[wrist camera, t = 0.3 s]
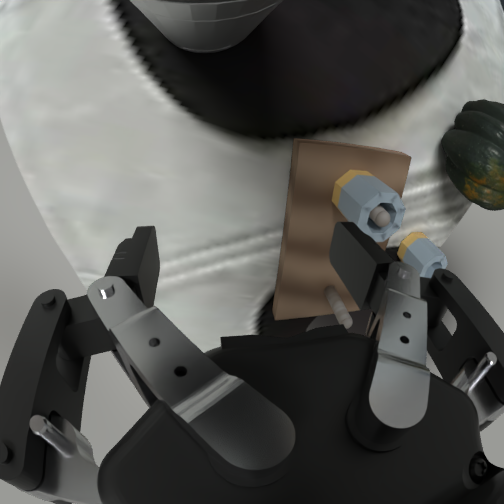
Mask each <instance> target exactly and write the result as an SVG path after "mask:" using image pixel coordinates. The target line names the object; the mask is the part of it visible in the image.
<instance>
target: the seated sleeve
mask: <svg viewBox="0 0 504 504" xmlns="http://www.w3.org/2000/svg"><path fill="white" fill-rule="evenodd" d="M332 202H333V203H334V204H335V206H336V207H337V208H338V210H339V211H340V212H341V214H342V215H343V216H344V217H345V218H346V219H347V221H348V222H354V223H355V224H356V225H357V226H358V227H359V228H360V229H361V230H362V231H363V232H364V233H365V234H367V235H369V236H370V237H372V238H373V239H374V240H375V241H376V242H384V241H385V240H386V239H388V238H389V237H390V236H391V235H392V234H394V233H395V232H396V231H397V230H398V229H400V225H401V222H402V219H403V216H404V213H405V207H404V205H403V203H402V201H401V199H400V197H399V195H398V193H397V192H395V191H394V190H393V189H391V188H390V187H389V186H387V185H386V184H385V183H383V182H382V181H380V180H379V179H378V178H376V177H375V176H373V175H372V174H371V173H369V172H368V171H360V170H349V171H348V172H347V173H345V174H344V175H343V176H342V177H341V178H339V179H338V180H337V181H336V182H335V186H334V191H333V196H332ZM377 205H380V206H381V207H383V208H384V209H385V210H386V211H387V212H388V213H389V215H390V222H389V224H388V225H387V226H385V227H380V226H378V225H377V224H376V223H375V222H374V221H373V220H372V219H371V218H370V217H369V214H370V211H371V210H373V209H374V208H375V207H376V206H377Z"/></svg>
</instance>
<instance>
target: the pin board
mask: <svg viewBox="0 0 504 504" xmlns="http://www.w3.org/2000/svg"><path fill="white" fill-rule="evenodd" d="M410 161H411V157H410V156H408V155H406V154H404V153H402V152H398V151H393V150H387V149H381V148H375V147H369V146H362V145H355V144H347V143H339V142H330V141H320V140H309V139H296V138H294V141H293V151H292V160H291V170H290V179H289V187H288V196H287V204H286V213H285V221H284V229H283V236H282V244H281V252H280V259H279V267H278V274H277V281H276V288H275V295H274V302H273V309H272V311H273V314H274V318H275V320H283V319H293V318H302V317H311V316H320V315H327V314H335V316H336V318H337V320H338V322H339V324H344V326H345V328H346V329H348V328H350V327H351V325H352V319H351V317H350V315H349V313H348V312H350V311H357V310H360V309H359V307H358V306H357V304H356V302H355V301H354V299H353V298H352V296H351V294H350V293H349V291H348V290H347V288H346V286H345V285H344V283H343V282H342V280H341V279H340V277H339V276H338V274H337V272H336V271H335V269H334V268H333V266H332V265H331V263H330V259H329V251H330V246H331V241H332V236H333V232H334V227H335V224H336V223H337V222H348V221H347V219H346V218H345V217H344V216H343V215H342V214H341V212H340V211H339V210H338V208H337V207H336V206H335V204H334V203H333V202H332V196H333V191H334V186H335V182H336V181H337V180H338V179H339V178H341V177H342V176H343V175H344V174H345V173H347V172H348V171H349V170H360V171H368V172H369V173H371V174H372V175H373V176H375V177H376V178H378V179H379V180H380V181H382V182H383V183H385V184H386V185H387V186H389V187H390V188H391V189H393V190H394V191H395V192H397V193H398V195H399V197H400V199H401V197H402V194H403V190H404V186H405V182H406V178H407V174H408V170H409V166H410ZM369 217H370V218H371V219H372V220H373V221H374V222H375V223H376V224H377V225H378V226H380V227H385V226H387V225H388V224H389V222H390V215H389V213H388V212H387V211H386V210H385V209H384V208H383V207H381V206H380V205H377V206H376V207H375V208H374V209H373V210H371V211H370V214H369ZM388 240H389V238H388V239H386V240H385V241H384V242H377V244H378V245H379V246H380V247H381V248H382V249H383V250H384V251H385V249H386V246H387V243H388Z"/></svg>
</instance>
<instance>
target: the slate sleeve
mask: <svg viewBox="0 0 504 504" xmlns="http://www.w3.org/2000/svg"><path fill="white" fill-rule="evenodd" d="M397 255H398V256H399V258H400V260H401V262H403V263H407V264H409V265H411V266H412V267H414V268H415V269H416V270H417V271H418V272H419V274H420V277H426V278H431V277H432V275H433V272H434V270H435V269H438V268H442V269H445V268H446V265H447V264H448V263H447V260H446V257H445V255H444V253H442V251H441V250H440V249H439V248H438V247H436V246H435V245H434V244H433V243H432V242H431V241H430V240H429V239H428V238H427V237H426V236H425V235H424V234H423V233H422V232H412V233H411V234H410V235H408V236H407V237H406V238H405V239H404V240H403V241H401V244H400V247H399V250H398V252H397Z"/></svg>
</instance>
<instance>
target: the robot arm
mask: <svg viewBox="0 0 504 504" xmlns="http://www.w3.org/2000/svg"><path fill="white" fill-rule="evenodd" d="M130 1H131V2H132V3H133V4H134V5H135V6H136V7H137V8H138V9H139V10H140V11H141V12H142V13H143V14H144V15H145V16H146V17H147V18H148V19H149V20H150V21H151V22H152V23H153V24H154V25H155V26H156V27H157V28H158V29H159V31H160V32H161V33H162V34H163V35H164V36H165V37H166V38H167V39H168V40H169V41H170V42H171V43H173V44H174V45H175V46H177V47H179V48H181V49H184V50H186V51H190V52H194V53H214V52H219V51H223V50H227V49H229V48H231V47H233V46H235V45H237V44H238V43H240V42H241V41H243V40H244V39H245V38H246V37H247V36H248V35H249V34H250V33H251V32H252V31H253V30H254V29H255V28H256V27H257V26H258V25H259V24H260V23H261V22H262V21H263V20H264V19H265V17H266V16H267V15H268V14H269V13H270V12H271V11H272V10H273V9H274V8H276V7H277V6H278V5H279V4H280V3H281V2H282V1H283V0H130ZM329 259H330V263H331V265H332V266H333V268H334V269H335V271H336V272H337V274H338V276H339V277H340V279H341V280H342V282H343V283H344V285H345V286H346V288H347V290H348V291H349V293H350V294H351V296H352V298H353V299H354V301H355V302H356V304H357V306H358V307H359V309H360V310H366V309H372V313H371V315H370V318H369V322H368V326H367V329H366V333H365V336H364V335H360V334H355V333H348V332H347V330H346V328H345V326H344V324H340V325H334V326H327V327H320V328H315V329H312V330H309V331H307V332H304V333H301V334H298V335H295V336H292V337H289V338H281V337H271V336H261V335H243V336H229V337H221V347H218V348H215V349H212V350H210V351H207V352H205V353H203V352H202V351H201V350H200V349H199V348H198V347H197V346H196V345H195V344H193V343H192V342H191V341H190V340H189V339H188V338H187V337H186V336H185V335H184V334H183V333H182V332H181V331H180V330H179V329H178V328H177V327H176V326H175V325H174V324H173V323H172V322H171V321H170V320H169V319H168V318H167V317H166V316H165V315H164V314H163V313H162V312H161V311H160V310H159V309H158V308H157V307H156V306H153V305H154V299H155V293H156V288H157V282H158V277H159V271H160V260H159V252H158V245H157V237H156V230H155V227H154V226H141V227H137V228H136V230H135V233H134V235H133V237H132V238H128V239H125V240H124V241H123V242H121V243H120V244H119V245H118V247H117V249H116V251H115V254H114V256H113V258H112V260H111V262H110V265H109V267H108V269H107V272H106V274H105V276H104V277H103V278H100V279H98V280H96V281H94V282H93V283H92V284H91V285H90V286H89V288H88V290H87V295H84V296H81V297H77V298H73V299H69V300H67V297H66V295H65V293H64V292H63V291H61V290H59V289H52V290H48V291H46V292H44V293H42V294H40V296H38V297H37V298H36V299H35V301H34V303H33V305H32V307H31V309H30V311H29V313H28V315H27V317H26V319H25V322H24V324H23V326H22V328H21V331H20V333H19V335H18V338H17V340H16V343H15V345H14V348H13V350H12V353H11V355H10V358H9V361H8V364H7V367H6V369H5V372H4V375H3V379H2V382H1V385H0V479H2V480H4V481H5V482H7V483H9V484H12V485H13V486H15V487H17V488H18V489H19V490H21V491H23V492H26V493H28V494H30V495H33V496H35V497H37V498H39V499H42V500H45V501H50V502H53V503H55V504H72V503H75V504H504V468H500V467H497V466H495V465H493V464H491V463H490V462H489V461H488V460H487V458H486V456H485V454H484V452H483V447H482V443H481V438H480V431H482V430H483V429H485V428H486V427H487V426H489V425H490V424H491V423H492V422H493V421H494V420H496V419H497V418H498V417H499V416H500V415H501V414H502V413H504V333H503V331H502V330H501V329H500V327H499V326H498V325H497V324H496V322H495V321H494V320H493V318H492V317H491V316H490V315H489V313H488V312H487V311H486V310H485V308H484V307H483V306H482V305H481V304H480V302H479V301H478V300H477V299H476V298H475V296H474V295H473V294H472V293H471V292H470V291H469V290H468V288H467V287H466V286H465V285H464V284H463V283H462V282H461V280H460V279H459V278H458V277H457V276H456V275H454V274H453V273H452V272H450V271H448V270H446V269H442V268H438V269H435V270H434V272H433V275H432V277H431V278H426V277H420V274H419V272H418V271H417V270H416V269H415V268H414V267H412V266H411V265H409V264H407V263H403V262H394V261H393V259H392V258H391V257H390V256H389V255H388V254H387V253H386V252H385V251H384V250H383V249H382V248H381V247H380V246H379V245H378V244H377V242H376V241H375V240H374V239H373V238H372V237H370V236H369V235H367V234H365V233H364V232H363V231H362V230H361V229H360V228H359V227H358V226H357V225H356V224H355V223H354V222H337V223H336V224H335V227H334V232H333V236H332V241H331V246H330V251H329ZM447 309H449V310H450V312H451V313H452V315H453V316H454V317H455V319H456V321H457V328H456V331H455V332H454V334H453V336H452V335H451V334H450V332H449V331H448V329H447V328H446V326H445V325H444V324H443V322H442V321H441V320H442V318H443V317H444V315H445V313H446V311H447ZM107 351H111V352H112V354H113V356H114V357H115V358H116V360H117V362H118V363H119V365H120V366H121V367H122V369H123V371H124V372H125V373H126V375H127V376H128V378H129V379H130V380H131V382H132V383H133V385H134V386H135V388H136V389H137V391H138V392H139V394H140V395H141V397H142V398H143V400H144V401H145V403H146V404H147V406H148V407H149V409H148V410H147V411H146V413H145V414H144V415H143V416H142V417H141V418H140V419H139V420H138V421H137V422H136V424H135V425H134V426H133V427H132V428H131V429H130V430H129V431H128V432H127V433H126V434H125V435H124V436H123V438H122V439H121V440H120V441H119V442H118V443H117V444H116V445H115V446H114V447H113V448H112V449H111V450H110V451H109V452H108V454H107V455H106V456H105V458H104V459H103V461H102V463H101V465H100V467H98V466H97V465H96V463H95V461H94V458H93V451H92V447H91V444H90V442H89V441H88V439H87V438H86V437H85V436H84V435H82V434H81V433H80V428H81V418H82V409H83V402H84V395H85V387H86V382H87V376H88V370H89V364H90V359H91V355H94V354H98V353H103V352H107ZM427 351H428V353H429V354H430V356H431V358H432V360H433V361H434V363H435V365H436V367H437V369H438V370H439V372H440V374H441V376H442V378H443V379H444V380H443V379H441V378H440V377H438V376H436V375H434V374H433V373H431V372H430V370H429V369H428V368H427V367H426V352H427Z"/></svg>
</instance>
